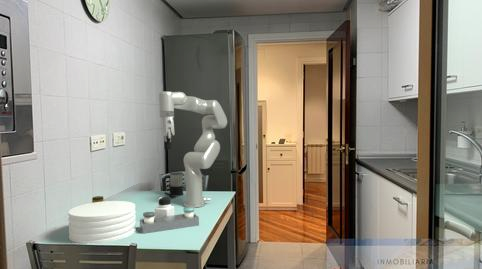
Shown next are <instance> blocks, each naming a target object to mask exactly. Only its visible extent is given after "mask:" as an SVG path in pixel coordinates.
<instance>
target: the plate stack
mask: <svg viewBox="0 0 482 269" xmlns="http://www.w3.org/2000/svg"><path fill="white" fill-rule="evenodd" d="M67 212H68V214H67V215H68V238H69V241H72V242H73V243H77V244H84V245H87V243H90V244H91V245H92V243H95V244H103V243H102V242H105V243H110V242H109V241H111V242H114V240H115V241H118V239H119V240H123V239H125V238H127V237H130V236H131V235H133V234H135V232H136V231H137V226H136V225H137V221H136V220H137V216H136V215H137V214H136V204H135V203H134V202H130V201H128V200H127V201H126V200H105V201H104V200H103V202H95V203H92V202H88V203H85V204H81V205H78V206H74V207H72V208H71V209H69V210H68V211H67ZM90 244H89V245H90Z"/></svg>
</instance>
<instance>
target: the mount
mask: <svg viewBox="0 0 482 269" xmlns="http://www.w3.org/2000/svg"><path fill="white" fill-rule="evenodd" d="M199 225H200V217H199V216H198V215H197V214H196V213H194V217H188V218H185V217H184V213H179V214H174V215H172V216H164V217H157V218H155V217H154V222H152V223H144V218H142V219H139V229H140V230H141V233H142V234H143V235H144V234H151V233H156V232H164V231H170V230H171V231H172V230H177V229H183V228H190V227H197V226H198V227H199Z"/></svg>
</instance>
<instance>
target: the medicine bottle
mask: <svg viewBox="0 0 482 269" xmlns="http://www.w3.org/2000/svg"><path fill="white" fill-rule="evenodd" d="M171 200H172V199H171V197H169V196H161V197H159V198H158V199H157V204H158V206H157V207H155V208H154V213H155V216H154V218H157V217H164V216H172V215H175V206H174V205H171V202H172V201H171Z"/></svg>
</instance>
